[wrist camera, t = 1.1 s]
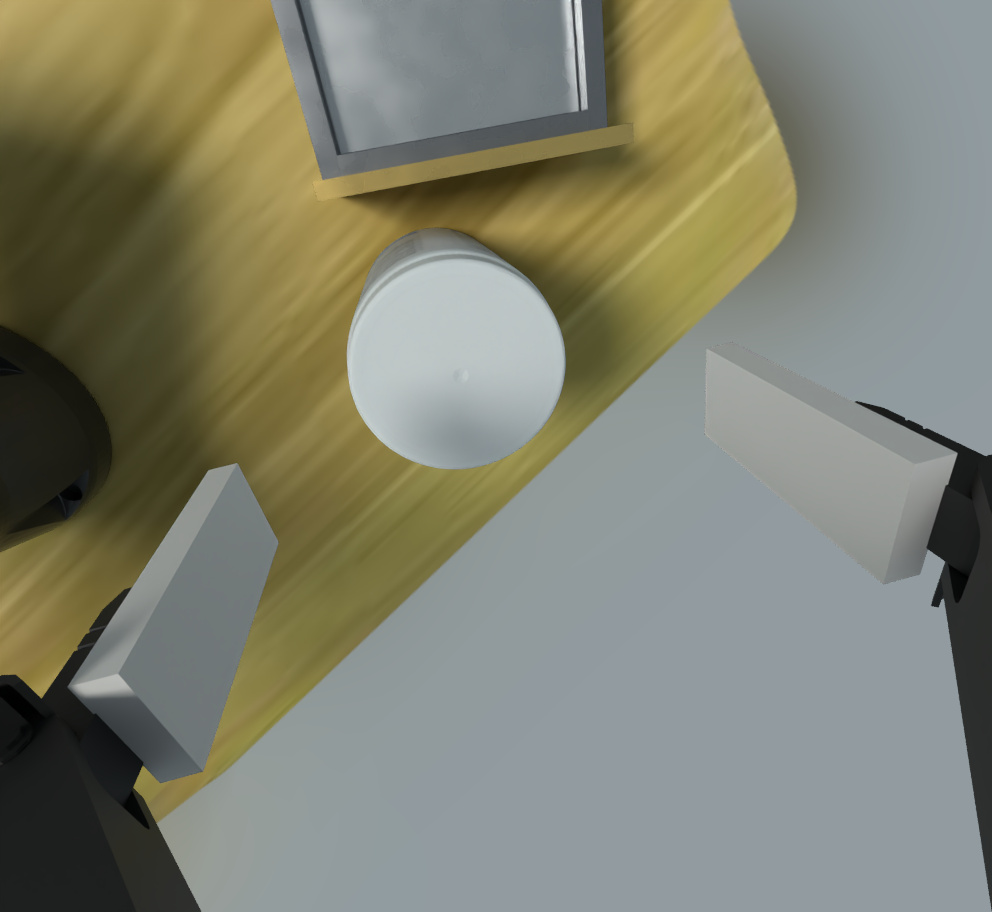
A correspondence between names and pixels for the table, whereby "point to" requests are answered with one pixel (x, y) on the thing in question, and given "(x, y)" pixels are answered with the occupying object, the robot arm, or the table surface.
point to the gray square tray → (444, 86)
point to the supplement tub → (452, 352)
